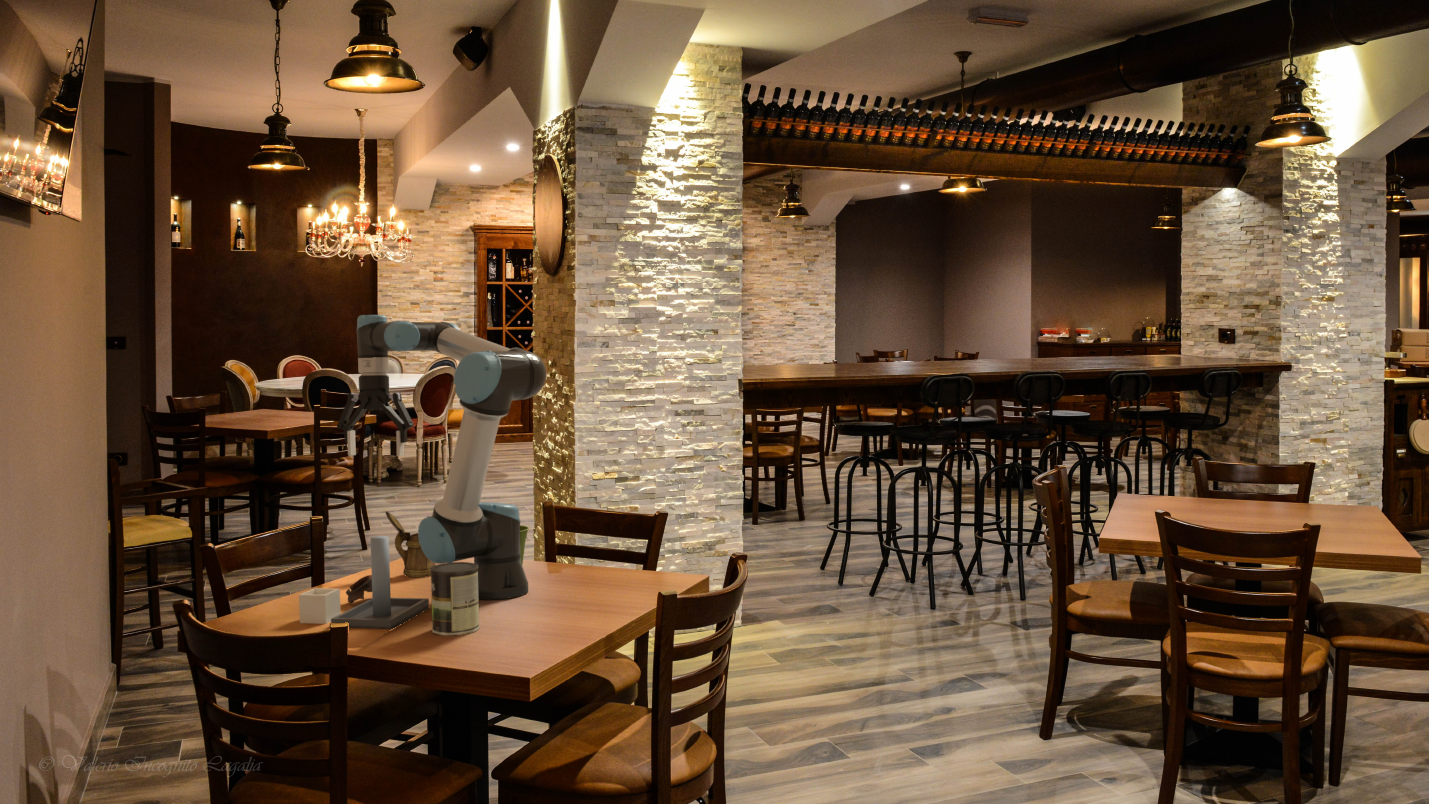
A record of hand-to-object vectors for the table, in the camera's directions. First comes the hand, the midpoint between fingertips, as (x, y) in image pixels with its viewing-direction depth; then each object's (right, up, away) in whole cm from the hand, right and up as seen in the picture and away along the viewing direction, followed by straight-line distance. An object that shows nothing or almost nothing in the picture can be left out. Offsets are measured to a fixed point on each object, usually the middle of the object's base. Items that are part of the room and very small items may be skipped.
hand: (376, 455), depth 268 cm
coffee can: (+31, -37, -41) cm, 63 cm away
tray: (+12, -36, -31) cm, 49 cm away
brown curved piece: (+4, -36, -17) cm, 40 cm away
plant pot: (+30, -33, +24) cm, 51 cm away
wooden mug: (+5, -34, +16) cm, 38 cm away
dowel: (+12, -35, -31) cm, 49 cm away
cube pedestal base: (-2, -36, -33) cm, 49 cm away
